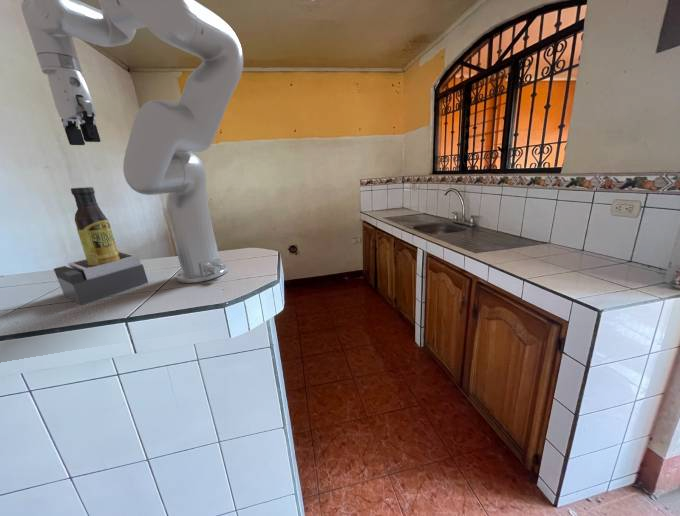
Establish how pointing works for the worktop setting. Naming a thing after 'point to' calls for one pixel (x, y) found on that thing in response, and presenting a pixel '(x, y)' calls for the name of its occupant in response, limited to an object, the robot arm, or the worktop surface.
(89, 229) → the sauce bottle
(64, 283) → the grey stepped tray box
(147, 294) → the worktop surface
